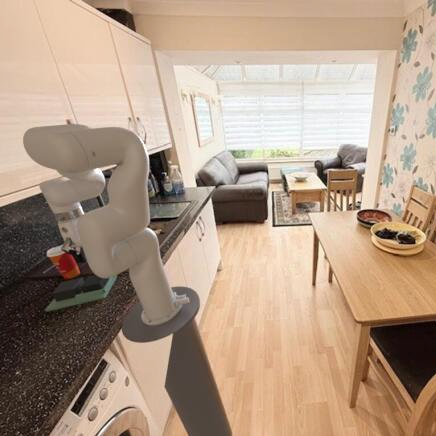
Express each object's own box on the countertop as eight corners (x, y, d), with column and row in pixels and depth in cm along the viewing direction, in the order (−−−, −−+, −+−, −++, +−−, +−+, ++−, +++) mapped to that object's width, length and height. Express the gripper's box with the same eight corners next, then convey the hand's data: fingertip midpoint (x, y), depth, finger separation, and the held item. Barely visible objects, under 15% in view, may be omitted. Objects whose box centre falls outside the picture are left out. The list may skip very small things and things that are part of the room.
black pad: (109, 280, 100) (105, 273, 98) (103, 291, 94) (99, 283, 93) (91, 284, 98) (87, 277, 97) (84, 295, 93) (80, 287, 91)
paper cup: (61, 275, 107) (45, 249, 101) (82, 267, 112) (68, 242, 106) (61, 283, 102) (44, 256, 96) (83, 275, 106) (69, 248, 100)
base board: (117, 276, 104) (112, 267, 102) (105, 298, 92) (100, 288, 90) (65, 287, 99) (60, 277, 97) (46, 312, 87) (39, 301, 85)
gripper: (61, 224, 76) (84, 267, 83) (97, 204, 91) (114, 242, 99) (36, 226, 75) (62, 269, 83) (77, 205, 91) (95, 244, 98)
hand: (90, 254), depth 91 cm, fingers open, 9 cm apart
